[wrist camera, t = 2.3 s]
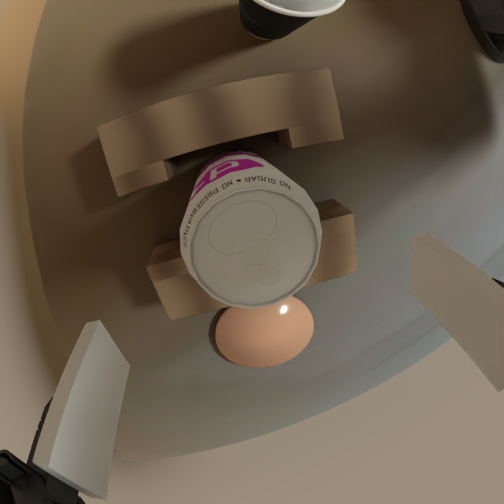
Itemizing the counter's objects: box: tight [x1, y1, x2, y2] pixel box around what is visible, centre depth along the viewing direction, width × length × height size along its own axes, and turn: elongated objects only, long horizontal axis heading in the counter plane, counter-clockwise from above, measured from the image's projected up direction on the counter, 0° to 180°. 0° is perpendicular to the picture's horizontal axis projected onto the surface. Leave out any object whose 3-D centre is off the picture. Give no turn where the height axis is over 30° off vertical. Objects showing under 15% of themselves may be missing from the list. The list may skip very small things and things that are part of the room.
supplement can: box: [180, 150, 322, 309], centre depth 21 cm, size 8×8×15 cm
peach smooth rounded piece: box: [215, 295, 314, 368], centre depth 36 cm, size 13×13×1 cm
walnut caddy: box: [97, 68, 357, 320], centre depth 26 cm, size 20×20×5 cm
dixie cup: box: [239, 0, 345, 40], centre depth 16 cm, size 8×8×11 cm
